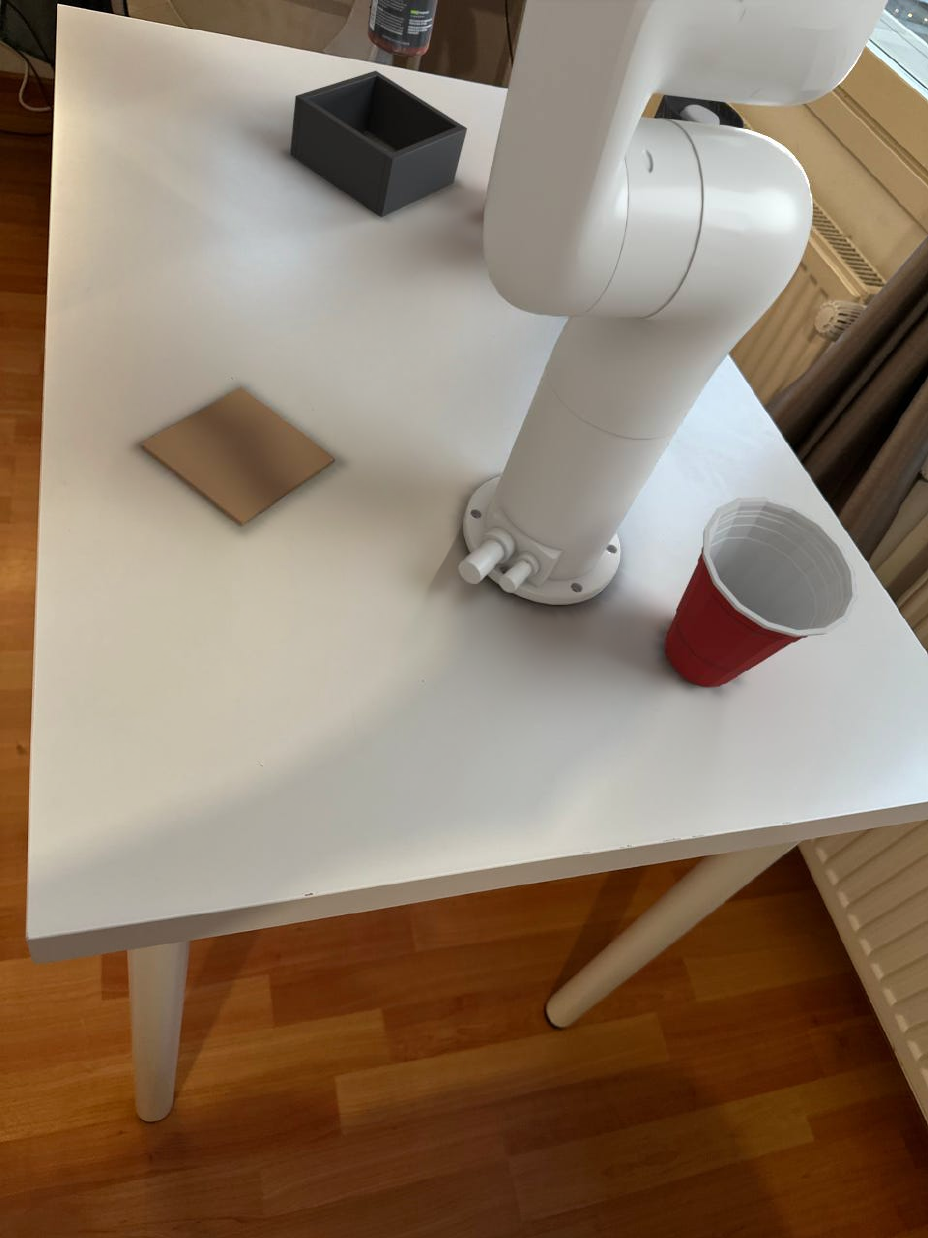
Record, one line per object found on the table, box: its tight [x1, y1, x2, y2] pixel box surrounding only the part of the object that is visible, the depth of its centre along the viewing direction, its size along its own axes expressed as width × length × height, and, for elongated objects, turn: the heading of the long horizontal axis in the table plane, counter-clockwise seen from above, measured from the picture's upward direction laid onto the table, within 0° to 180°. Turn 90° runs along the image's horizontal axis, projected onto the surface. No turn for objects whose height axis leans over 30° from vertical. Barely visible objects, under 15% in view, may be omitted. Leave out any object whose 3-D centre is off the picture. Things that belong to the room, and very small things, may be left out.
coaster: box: [140, 386, 336, 527], centre depth 66 cm, size 10×10×1 cm
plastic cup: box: [664, 496, 858, 688], centre depth 61 cm, size 11×11×12 cm
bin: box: [289, 70, 468, 218], centre depth 92 cm, size 13×13×6 cm
